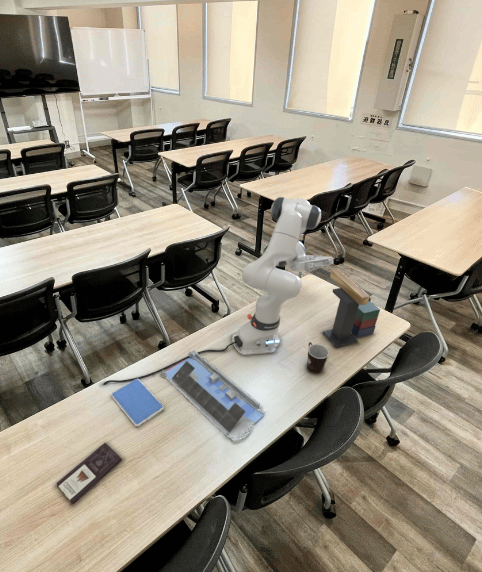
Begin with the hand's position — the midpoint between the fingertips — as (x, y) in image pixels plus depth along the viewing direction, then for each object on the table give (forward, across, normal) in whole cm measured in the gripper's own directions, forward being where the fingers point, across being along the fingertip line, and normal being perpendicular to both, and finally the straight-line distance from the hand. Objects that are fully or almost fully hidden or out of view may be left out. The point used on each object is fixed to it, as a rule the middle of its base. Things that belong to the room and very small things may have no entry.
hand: (322, 263), depth 176 cm
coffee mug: (+18, -21, +42) cm, 51 cm away
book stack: (+3, +12, +34) cm, 36 cm away
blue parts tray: (+19, -68, +42) cm, 83 cm away
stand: (+8, 0, +36) cm, 37 cm away
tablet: (+15, -97, +40) cm, 106 cm away
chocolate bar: (+35, -115, +51) cm, 131 cm away
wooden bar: (+18, 0, +12) cm, 22 cm away
